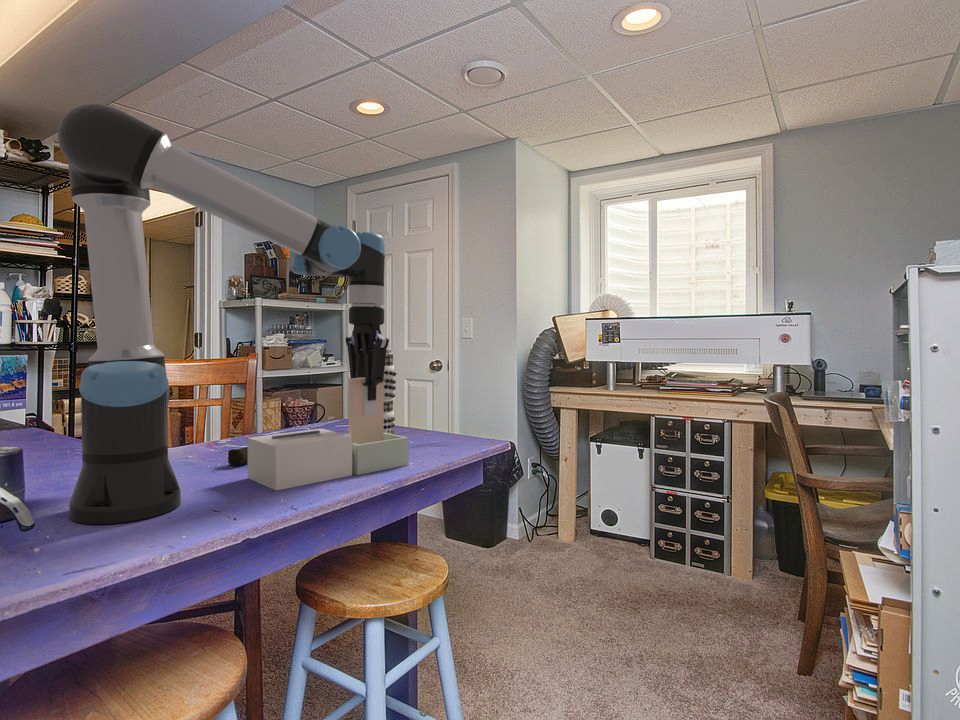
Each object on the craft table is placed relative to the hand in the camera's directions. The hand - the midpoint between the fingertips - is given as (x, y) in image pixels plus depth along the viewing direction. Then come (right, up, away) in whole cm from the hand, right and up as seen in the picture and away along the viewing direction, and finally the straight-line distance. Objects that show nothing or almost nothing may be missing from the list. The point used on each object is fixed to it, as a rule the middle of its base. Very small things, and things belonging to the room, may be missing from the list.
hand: (366, 414), depth 122 cm
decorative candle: (-1, -10, +22) cm, 24 cm away
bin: (0, -11, +1) cm, 11 cm away
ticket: (0, -8, 0) cm, 8 cm away
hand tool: (-25, -11, +6) cm, 28 cm away
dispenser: (-11, -11, -11) cm, 19 cm away
